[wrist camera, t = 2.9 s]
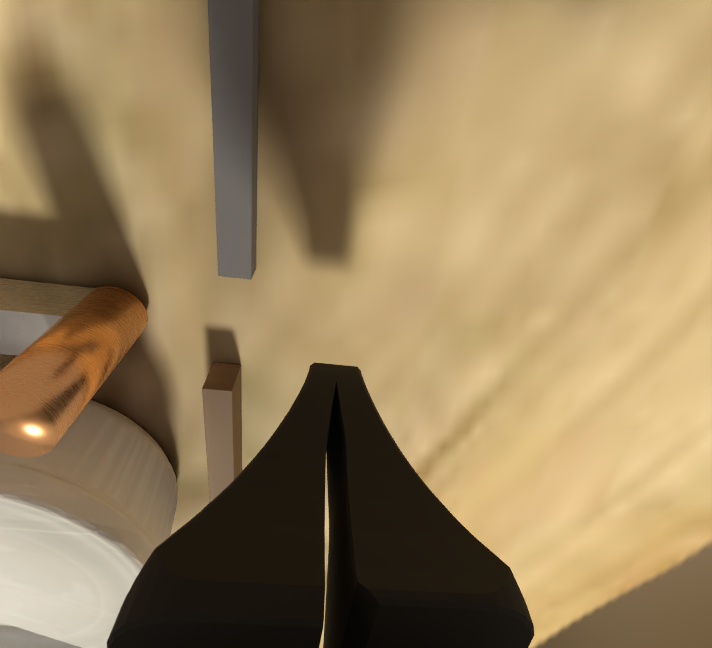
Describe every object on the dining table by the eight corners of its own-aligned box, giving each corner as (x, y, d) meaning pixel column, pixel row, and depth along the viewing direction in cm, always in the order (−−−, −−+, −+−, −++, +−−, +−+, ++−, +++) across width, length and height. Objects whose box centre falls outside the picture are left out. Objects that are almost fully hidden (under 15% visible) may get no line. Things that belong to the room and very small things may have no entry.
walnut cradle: (-53, 553, 22) (-78, 583, 20) (-203, 322, 14) (-256, 347, 13) (242, 568, 23) (236, 598, 22) (241, 364, 16) (231, 391, 14)
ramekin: (-36, 524, 21) (-142, 651, 16) (-118, 339, 15) (-317, 456, 10) (197, 547, 22) (160, 671, 18) (203, 386, 16) (149, 507, 12)
